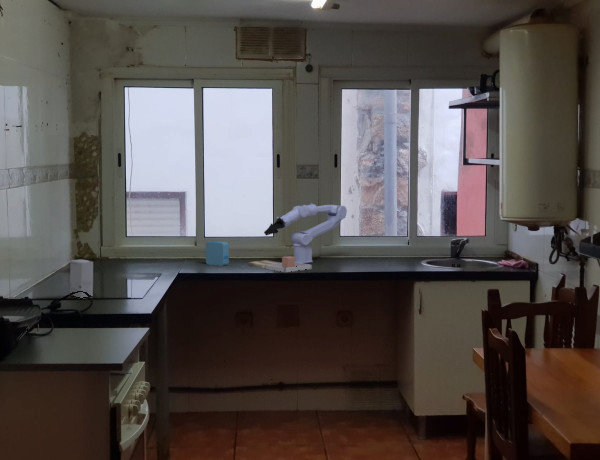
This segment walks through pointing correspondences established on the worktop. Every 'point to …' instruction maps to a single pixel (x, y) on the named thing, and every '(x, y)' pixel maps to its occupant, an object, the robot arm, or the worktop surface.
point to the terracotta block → (288, 262)
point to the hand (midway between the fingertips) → (267, 231)
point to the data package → (217, 253)
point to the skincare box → (81, 277)
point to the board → (261, 263)
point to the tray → (279, 268)
